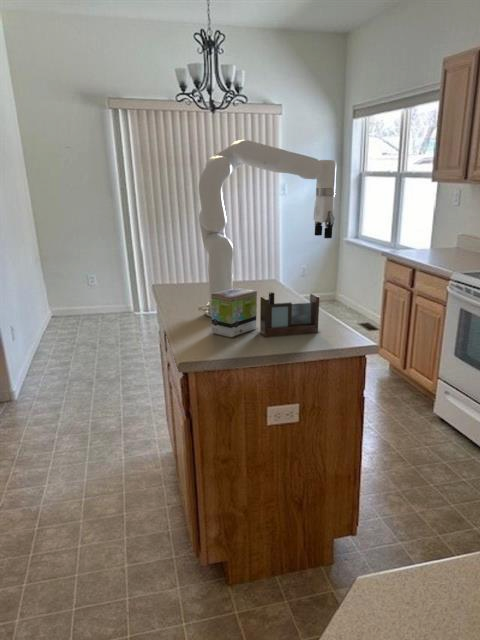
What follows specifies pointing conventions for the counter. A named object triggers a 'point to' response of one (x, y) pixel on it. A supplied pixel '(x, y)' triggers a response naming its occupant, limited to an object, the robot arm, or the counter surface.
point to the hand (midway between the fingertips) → (323, 236)
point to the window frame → (301, 318)
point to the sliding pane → (279, 313)
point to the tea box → (234, 311)
